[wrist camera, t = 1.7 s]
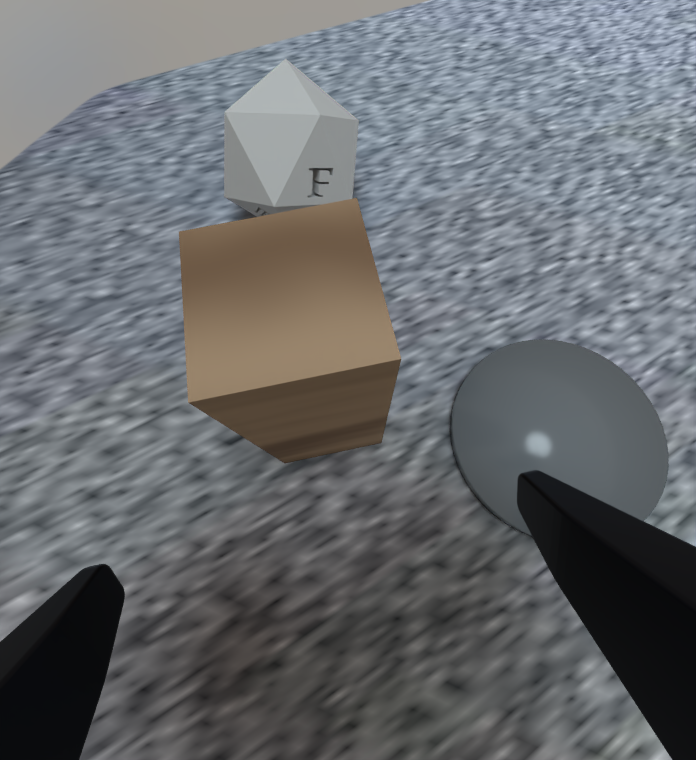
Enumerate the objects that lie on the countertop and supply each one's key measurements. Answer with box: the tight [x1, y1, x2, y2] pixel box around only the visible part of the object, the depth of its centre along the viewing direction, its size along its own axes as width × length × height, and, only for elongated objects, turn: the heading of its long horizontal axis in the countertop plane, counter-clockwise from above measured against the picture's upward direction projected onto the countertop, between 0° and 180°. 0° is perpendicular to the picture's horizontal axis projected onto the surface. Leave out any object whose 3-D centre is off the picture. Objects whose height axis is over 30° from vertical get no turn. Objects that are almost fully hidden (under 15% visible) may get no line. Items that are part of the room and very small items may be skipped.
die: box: [224, 59, 359, 217], centre depth 23 cm, size 8×9×10 cm
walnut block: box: [179, 198, 401, 463], centre depth 16 cm, size 6×6×12 cm
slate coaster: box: [450, 340, 668, 537], centre depth 20 cm, size 11×11×1 cm
